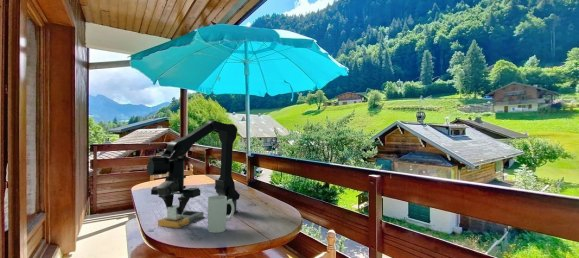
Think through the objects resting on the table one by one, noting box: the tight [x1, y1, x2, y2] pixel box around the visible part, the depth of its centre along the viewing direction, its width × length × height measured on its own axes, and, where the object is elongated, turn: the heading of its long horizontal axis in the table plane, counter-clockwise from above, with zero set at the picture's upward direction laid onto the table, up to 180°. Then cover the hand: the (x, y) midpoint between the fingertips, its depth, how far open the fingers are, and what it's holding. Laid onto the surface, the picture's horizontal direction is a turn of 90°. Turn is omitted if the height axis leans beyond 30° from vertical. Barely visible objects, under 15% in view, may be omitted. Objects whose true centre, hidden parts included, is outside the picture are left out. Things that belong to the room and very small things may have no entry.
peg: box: [166, 204, 183, 221], centre depth 120 cm, size 4×4×7 cm
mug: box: [207, 195, 235, 234], centre depth 115 cm, size 10×7×12 cm, turn 123°
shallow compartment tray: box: [157, 209, 205, 229], centre depth 125 cm, size 9×17×2 cm, turn 164°
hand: (175, 213), depth 120 cm, fingers open, 5 cm apart
